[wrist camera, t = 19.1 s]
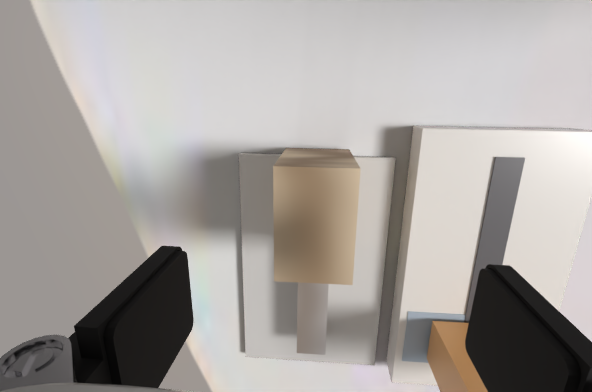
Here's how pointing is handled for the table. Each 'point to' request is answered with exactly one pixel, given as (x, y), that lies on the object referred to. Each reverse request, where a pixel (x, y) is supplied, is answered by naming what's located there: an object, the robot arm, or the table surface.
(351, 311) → the tool mat
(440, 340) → the slide tab
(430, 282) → the switch housing
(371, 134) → the table surface
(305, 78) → the table surface
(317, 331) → the tan block on stem
